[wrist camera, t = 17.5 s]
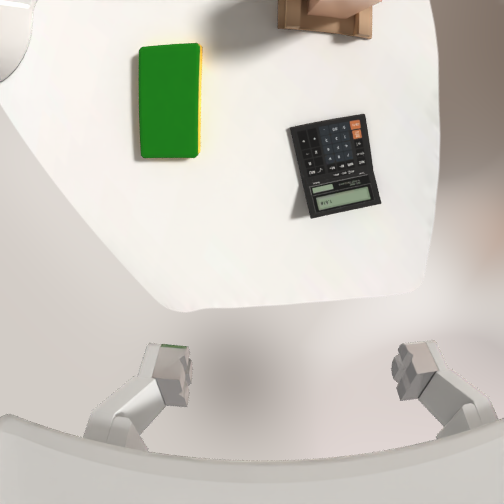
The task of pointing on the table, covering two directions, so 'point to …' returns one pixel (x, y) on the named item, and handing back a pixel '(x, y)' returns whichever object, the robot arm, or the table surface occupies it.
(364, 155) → the calculator
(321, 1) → the clay block
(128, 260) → the table surface
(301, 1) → the tray
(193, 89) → the dish sponge
